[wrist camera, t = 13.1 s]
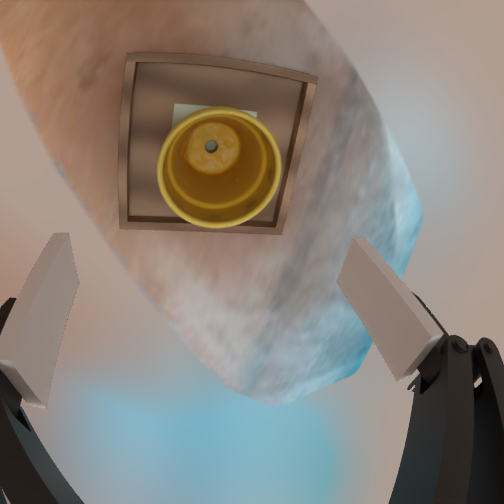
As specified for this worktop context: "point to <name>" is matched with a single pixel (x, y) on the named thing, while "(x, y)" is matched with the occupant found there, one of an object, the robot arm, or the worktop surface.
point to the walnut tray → (188, 101)
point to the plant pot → (218, 167)
